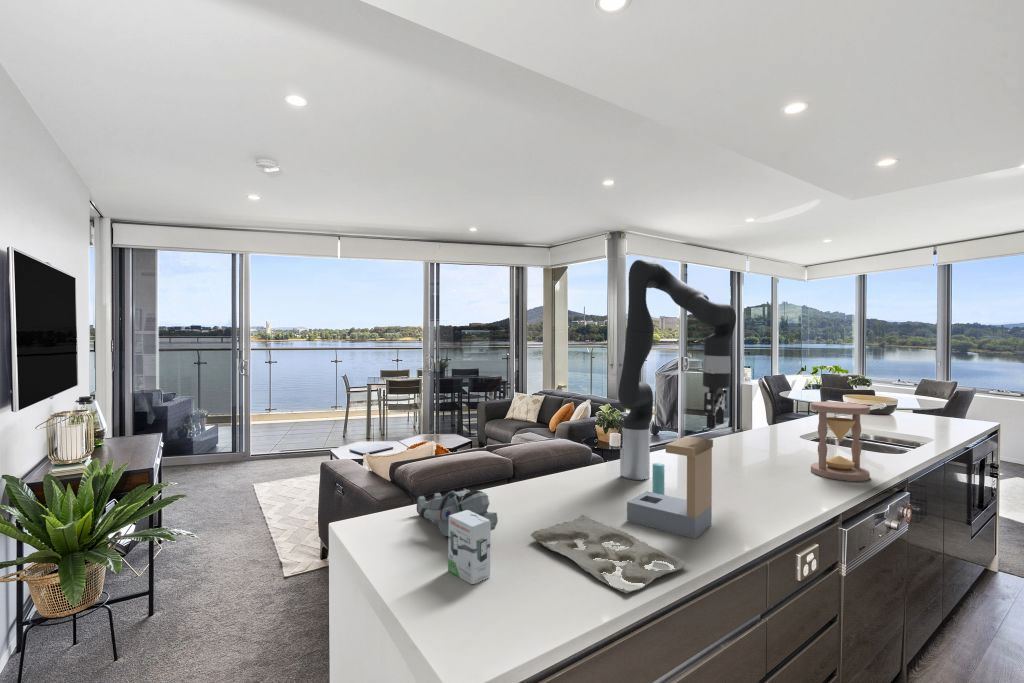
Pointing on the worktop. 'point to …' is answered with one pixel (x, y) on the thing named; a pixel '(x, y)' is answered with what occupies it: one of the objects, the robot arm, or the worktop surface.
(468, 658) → the worktop surface
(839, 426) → the hourglass
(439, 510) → the toy
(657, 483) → the peg
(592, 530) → the stone relief
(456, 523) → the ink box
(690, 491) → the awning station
